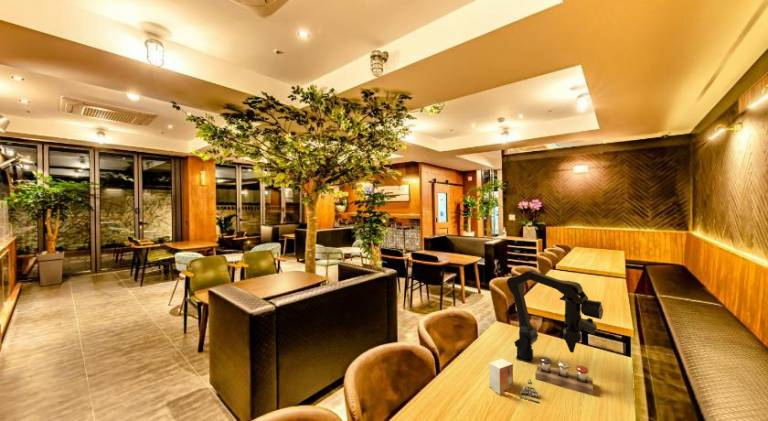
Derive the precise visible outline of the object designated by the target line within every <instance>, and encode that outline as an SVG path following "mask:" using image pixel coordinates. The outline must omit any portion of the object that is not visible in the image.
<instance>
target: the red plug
mask: <svg viewBox="0 0 768 421" xmlns="http://www.w3.org/2000/svg"><path fill="white" fill-rule="evenodd" d="M575 369H576V372H577V374H578V382H582V383H586V384H587V375H588V373H589V368H588V367H586V366H584V365H576V367H575Z"/></svg>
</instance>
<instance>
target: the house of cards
mask: <svg viewBox="0 0 768 421" xmlns="http://www.w3.org/2000/svg"><path fill="white" fill-rule="evenodd" d="M526 384H527V385H524V386H523V387H522V388H521V389H520V391H519V392H520V393H519V394H520V395H519V400H523V399H524V401H527V400H528V401H527V402H531V403H535V404H539V405H540V401H537V400H535V399H532V398H528V397H525V396H527V395H528V396H529V397H532V396H533V398H538V399H540V394H539V392H538V391H537V390H536V387H532V385H533V382H532V380H531V378H529V379H527V381H526ZM529 385H530V386H529ZM521 394H523V395H524V396H522V395H521Z"/></svg>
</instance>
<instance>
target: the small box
mask: <svg viewBox="0 0 768 421" xmlns="http://www.w3.org/2000/svg"><path fill="white" fill-rule="evenodd" d="M513 367H514V363H512V362H510V361H508V360H506V359H504V358H500V359H496V360H494V361H491V362H488V368H489V369H488V370H489V371H488V376H489V378H488V379H489V380H488V382H489V383H488V385H489V387H488V388H489V389H491V390H492V391H494V392H495V393H497V394H498V395H502V394H504V393H507V391H506V390H508V389H510V388H512V387H514V368H513Z"/></svg>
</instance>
